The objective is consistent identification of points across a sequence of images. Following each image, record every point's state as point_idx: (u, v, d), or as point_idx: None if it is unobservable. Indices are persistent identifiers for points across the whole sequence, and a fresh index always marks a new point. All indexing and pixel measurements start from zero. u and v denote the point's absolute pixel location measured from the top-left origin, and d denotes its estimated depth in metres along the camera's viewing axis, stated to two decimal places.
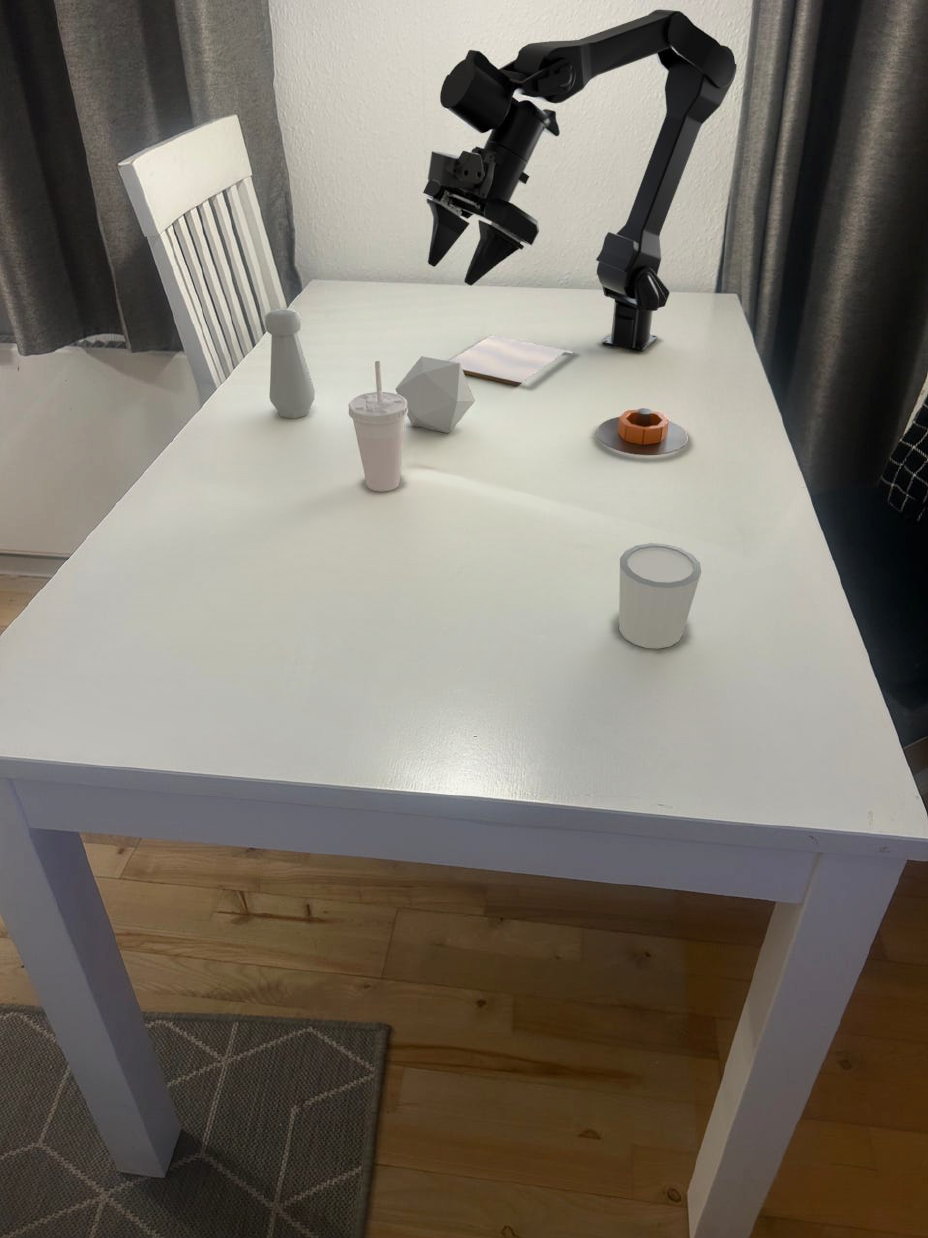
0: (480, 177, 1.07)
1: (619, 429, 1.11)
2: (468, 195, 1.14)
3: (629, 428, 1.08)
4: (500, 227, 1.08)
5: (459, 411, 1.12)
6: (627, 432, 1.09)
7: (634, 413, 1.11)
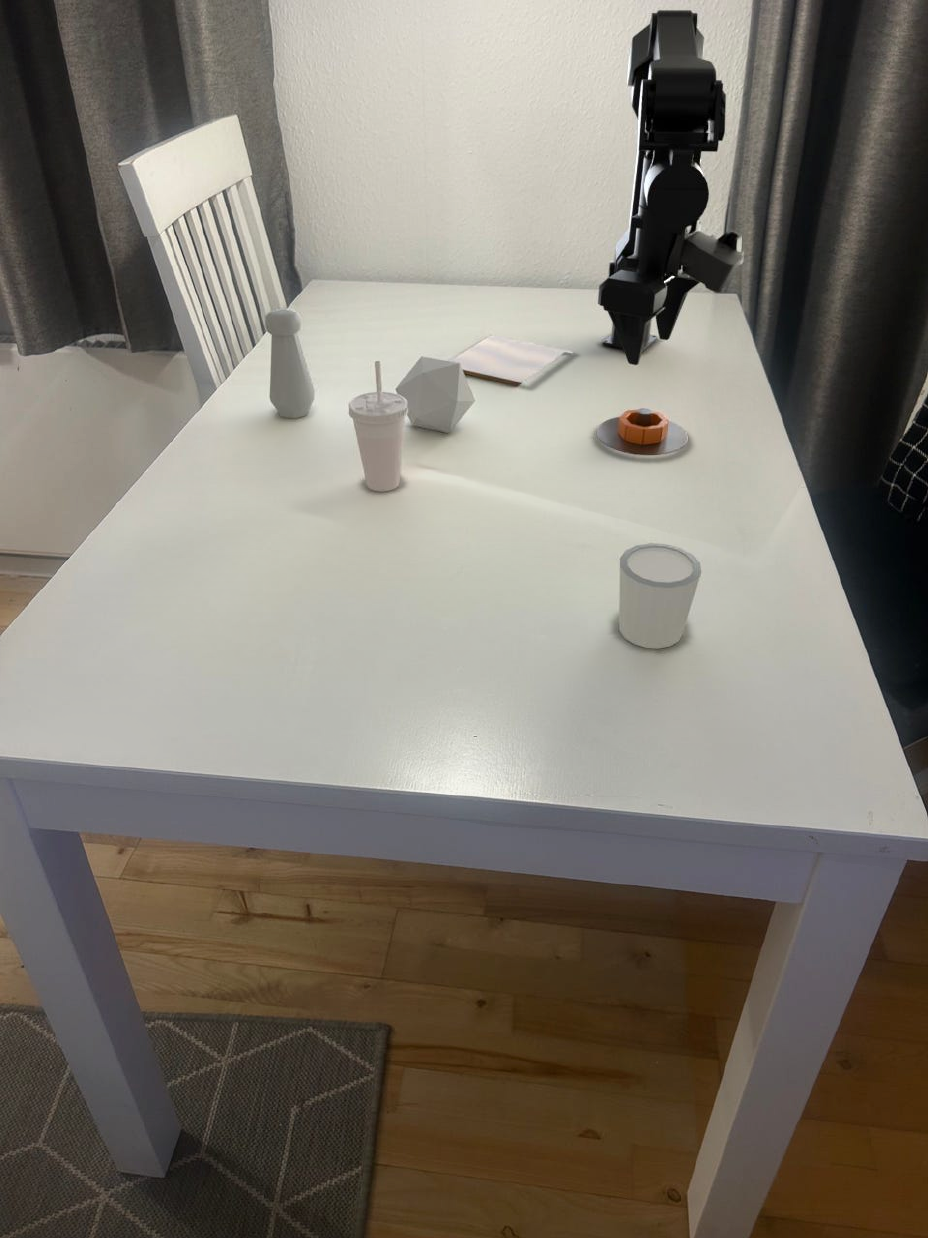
0: None
1: (619, 429, 1.11)
2: None
3: (629, 428, 1.08)
4: None
5: (459, 411, 1.12)
6: (627, 432, 1.09)
7: (634, 413, 1.11)
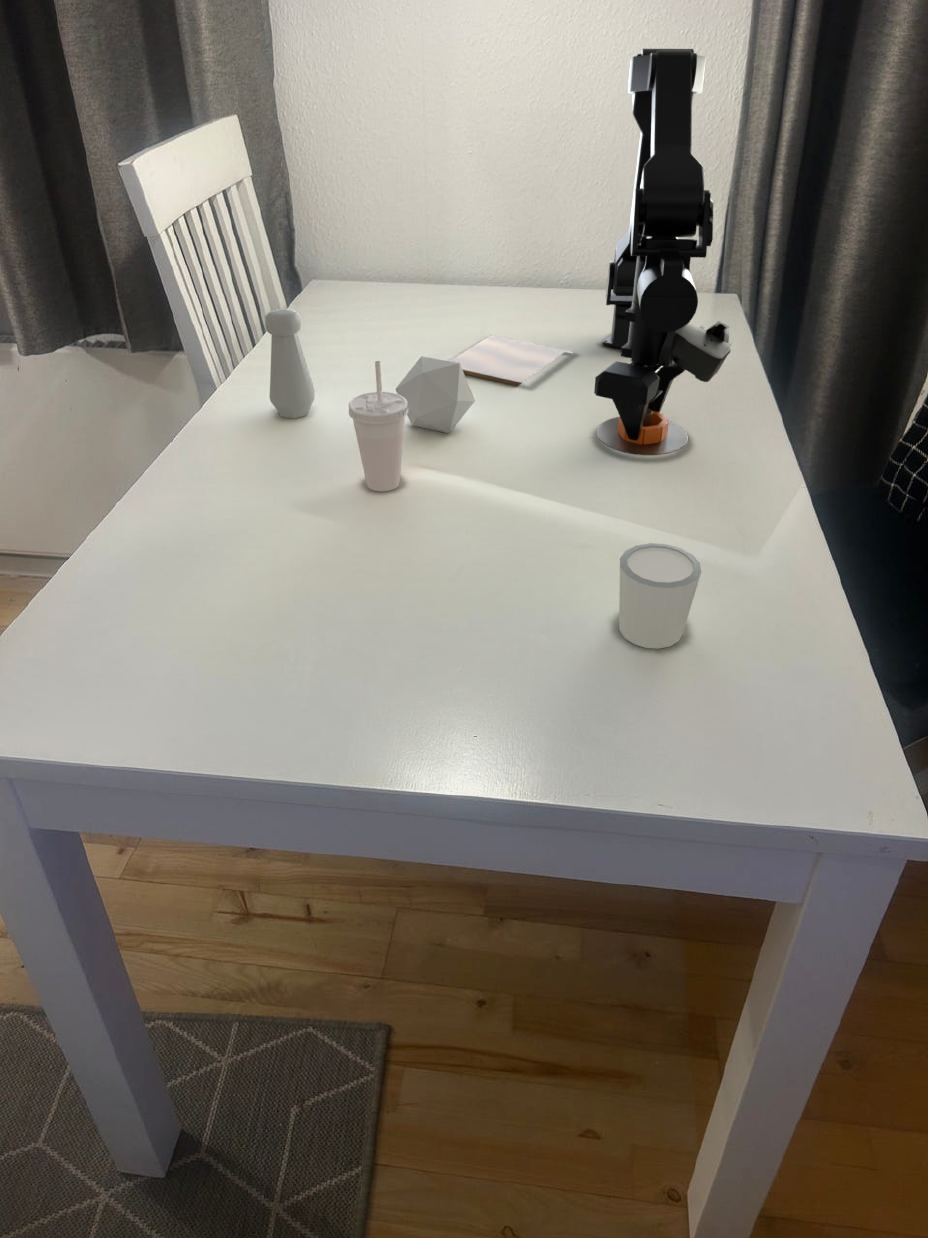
0: None
1: (619, 429, 1.11)
2: None
3: None
4: None
5: (459, 411, 1.12)
6: None
7: None
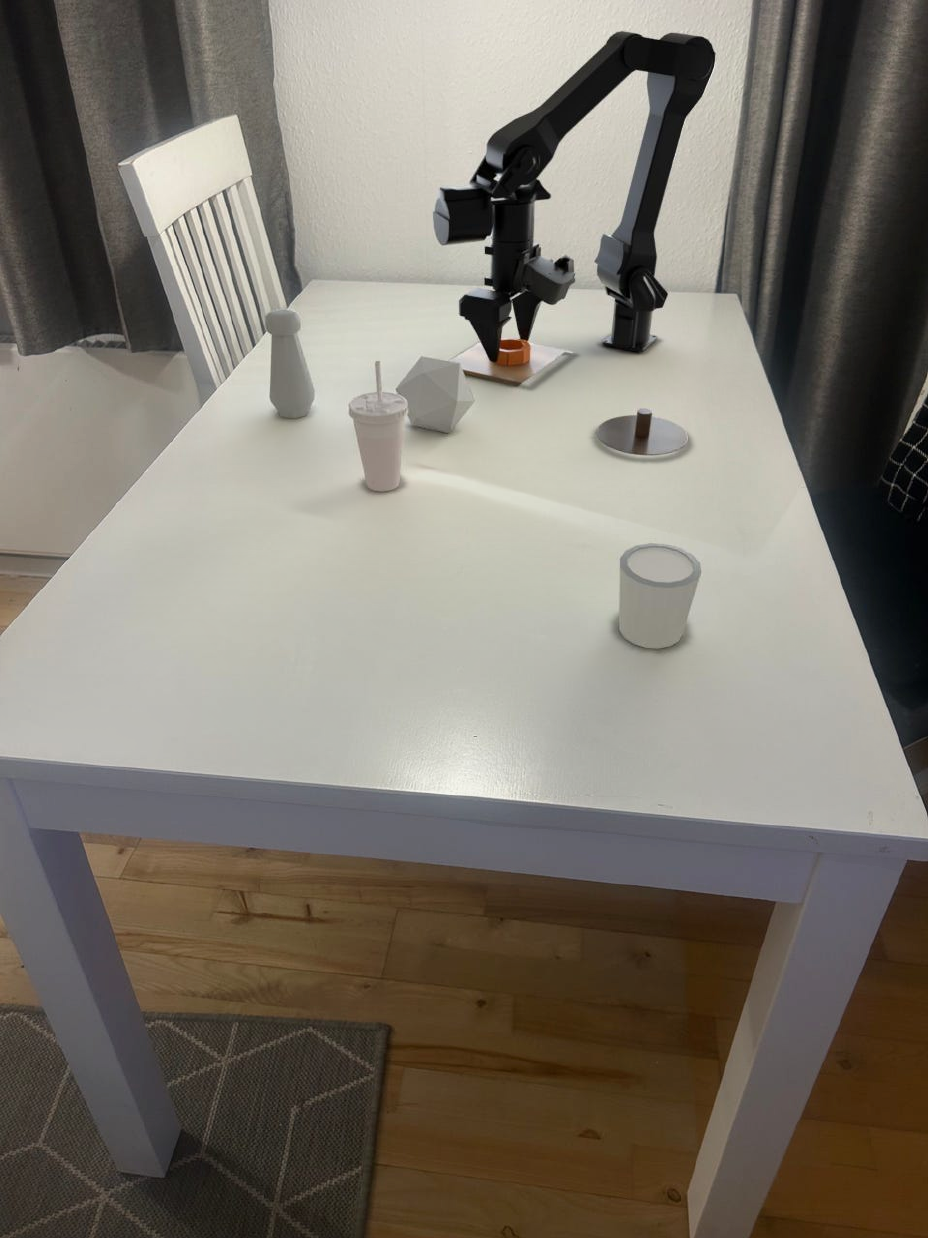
0: None
1: None
2: None
3: None
4: None
5: (459, 411, 1.12)
6: None
7: (503, 340, 1.32)
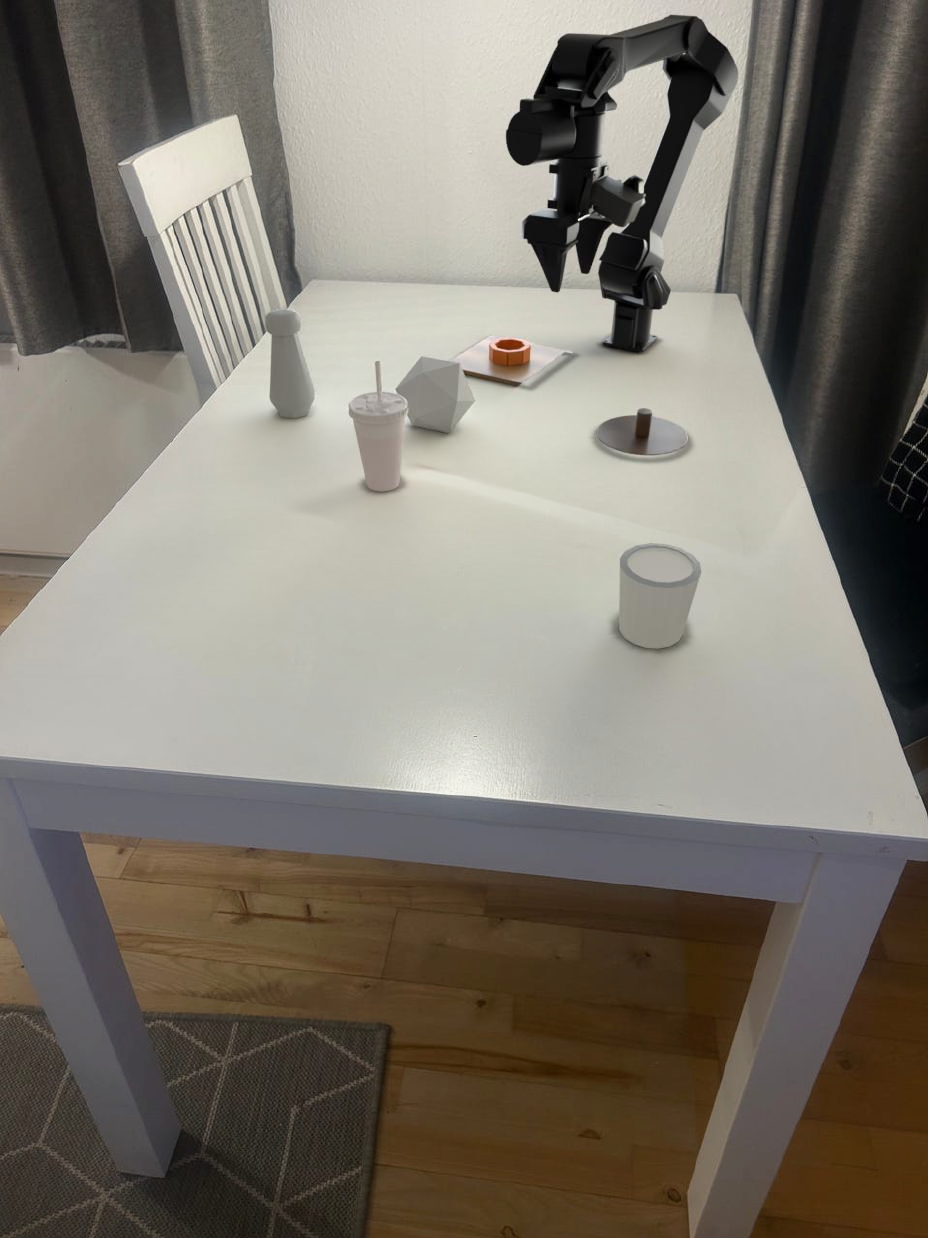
0: None
1: (489, 353, 1.31)
2: None
3: (496, 351, 1.29)
4: None
5: (459, 411, 1.12)
6: (494, 355, 1.29)
7: (503, 340, 1.32)
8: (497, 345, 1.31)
